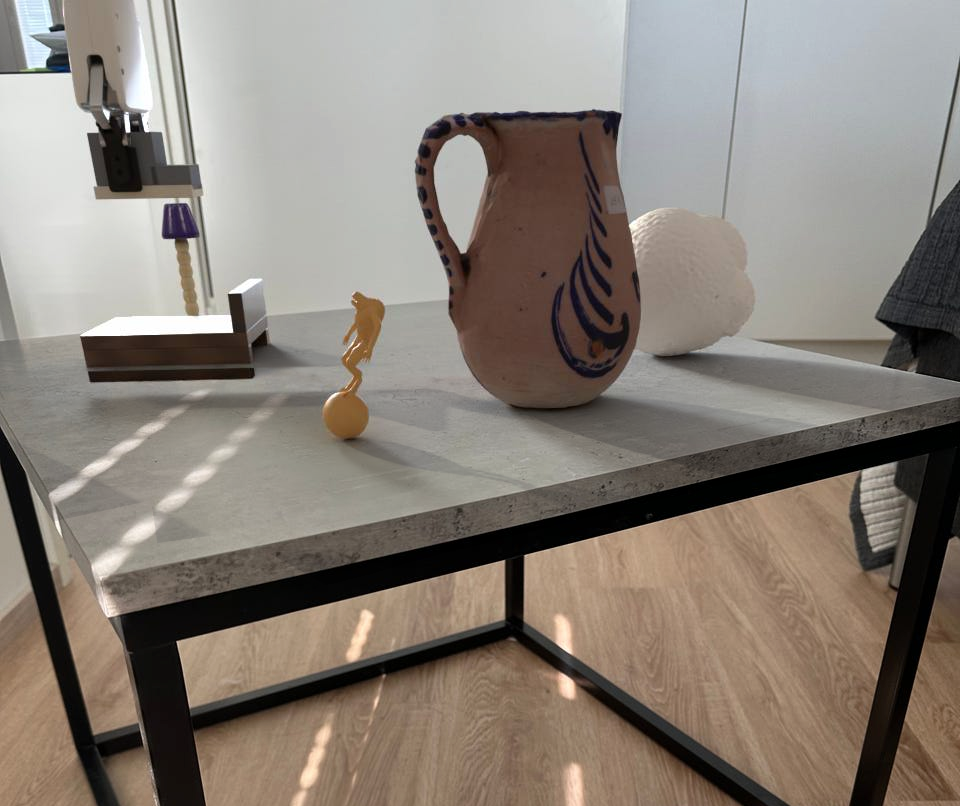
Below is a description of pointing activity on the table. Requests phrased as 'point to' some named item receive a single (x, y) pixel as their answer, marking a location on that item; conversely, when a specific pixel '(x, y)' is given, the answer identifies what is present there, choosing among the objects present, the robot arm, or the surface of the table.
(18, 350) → the table surface
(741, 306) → the white lobed lump
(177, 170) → the trainer
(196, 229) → the toy lamp
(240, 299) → the wooden doll bed
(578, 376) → the ceramic pitcher
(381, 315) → the figurine
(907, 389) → the table surface
